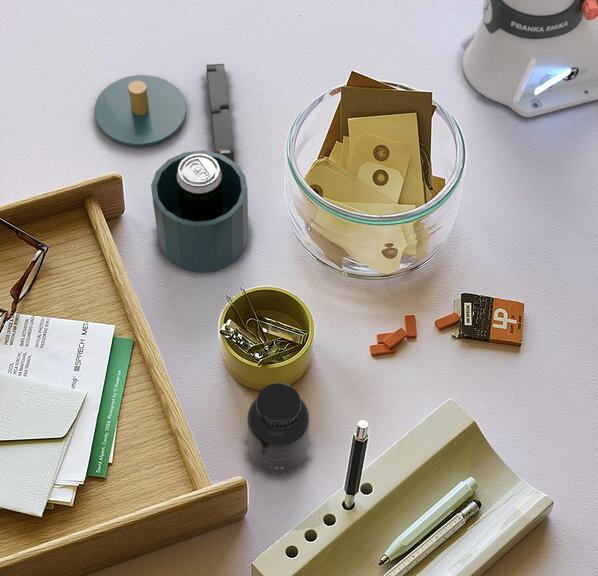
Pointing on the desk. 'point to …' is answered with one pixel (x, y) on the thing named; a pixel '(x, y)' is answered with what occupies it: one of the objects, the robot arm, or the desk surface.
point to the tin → (203, 234)
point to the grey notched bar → (220, 110)
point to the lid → (140, 110)
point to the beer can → (200, 188)
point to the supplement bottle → (278, 429)
